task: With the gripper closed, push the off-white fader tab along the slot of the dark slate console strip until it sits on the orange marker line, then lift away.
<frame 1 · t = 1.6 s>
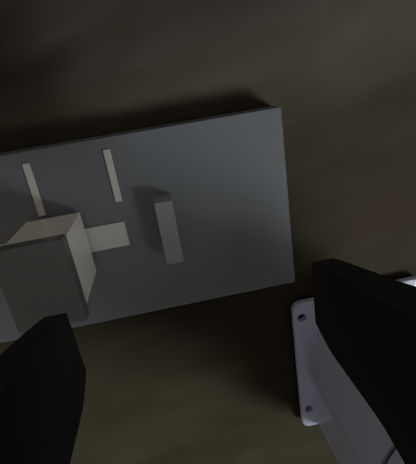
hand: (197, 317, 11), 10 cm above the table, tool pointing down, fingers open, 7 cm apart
fader tab: (52, 265, 16), point 4 cm above the table, slide at 3.0 cm
console: (70, 233, 20), on the table
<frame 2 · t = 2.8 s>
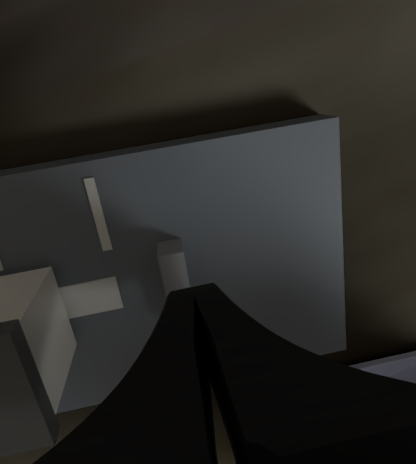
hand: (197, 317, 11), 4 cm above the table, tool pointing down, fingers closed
fader tab: (7, 352, 11), point 4 cm above the table, slide at 3.0 cm
console: (42, 288, 15), on the table
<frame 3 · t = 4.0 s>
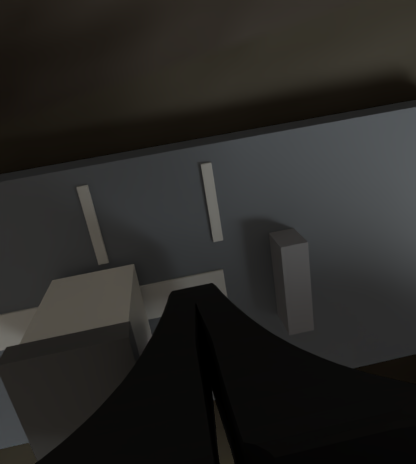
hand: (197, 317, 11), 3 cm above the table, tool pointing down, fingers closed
fader tab: (97, 356, 10), point 4 cm above the table, slide at 3.8 cm, touching gripper
console: (134, 282, 14), on the table
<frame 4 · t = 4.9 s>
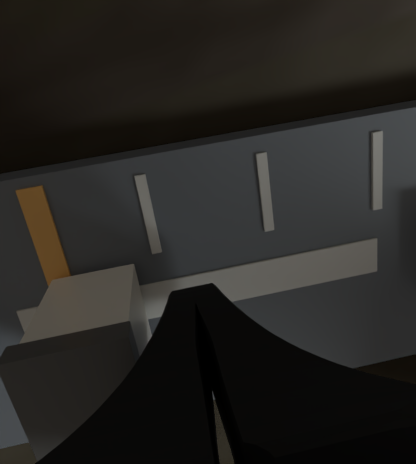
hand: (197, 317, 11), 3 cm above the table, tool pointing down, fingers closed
fader tab: (97, 356, 10), point 4 cm above the table, slide at 8.9 cm, touching gripper
console: (274, 254, 14), on the table
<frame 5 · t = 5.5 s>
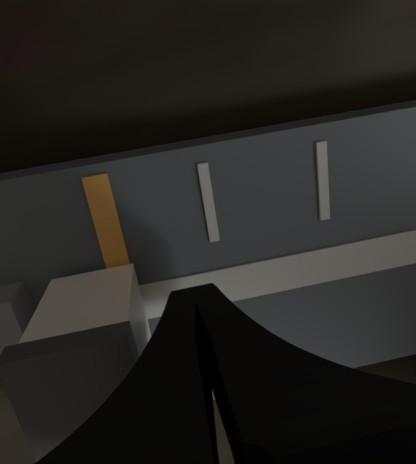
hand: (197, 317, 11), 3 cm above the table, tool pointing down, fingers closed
fader tab: (97, 356, 10), point 4 cm above the table, slide at 10.7 cm, touching gripper
console: (322, 244, 14), on the table
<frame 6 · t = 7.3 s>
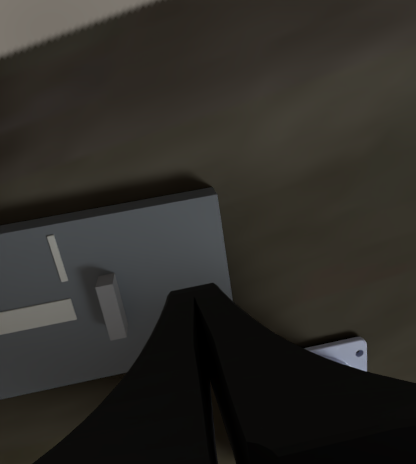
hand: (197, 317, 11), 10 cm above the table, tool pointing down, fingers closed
console: (22, 305, 21), on the table
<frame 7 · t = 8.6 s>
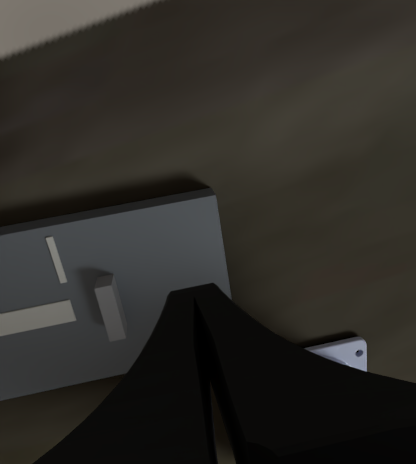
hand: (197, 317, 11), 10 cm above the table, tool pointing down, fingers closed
console: (21, 306, 21), on the table
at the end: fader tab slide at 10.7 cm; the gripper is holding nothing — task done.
